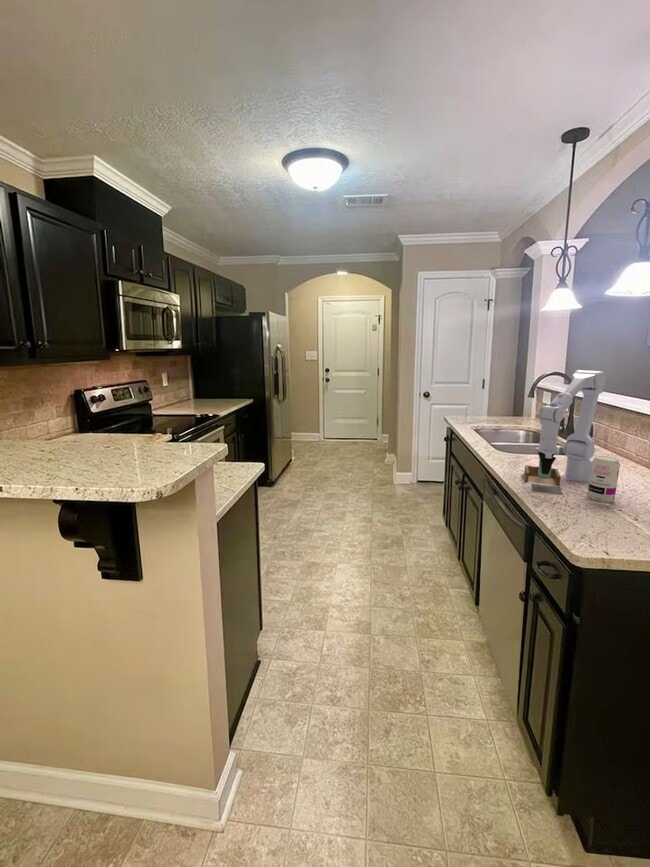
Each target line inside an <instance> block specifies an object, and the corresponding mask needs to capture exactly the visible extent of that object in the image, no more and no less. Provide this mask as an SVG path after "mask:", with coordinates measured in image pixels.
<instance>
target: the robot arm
mask: <svg viewBox="0 0 650 867" xmlns="http://www.w3.org/2000/svg"><path fill="white" fill-rule="evenodd" d="M606 377H607V376H606V374H605V373H604V371H602V370H599V371H598V370H582V369H577V370H575V372H573V374H572V376H571V382H570V384H569V385H568V386H567V388H566V389H565V390H564V392H559V393H558V394H557V395H556V396H555V397H554V398H553V400H552V401H550V403H549V404H548V405H547V404H546V405H544V406H542V407H541V408H540V411H539V414H538V416H539V419H540V421H539V423H540V425H541V428H540V435H539V436H540V437H539V446H538V447H535V448H534V449H535V451H538V452H537V454H538V458H539V459H540V460H541V470H542V474H549V471H550V468H551V466H553V464H554V462H555V461H556V460H557V458H556V456H555V453H556V452H557V444H558V435H559V426H560V423H561V421H563V419H564V417H565V413H566V411H567V409H568V408H570V406H571V405H572V404H573V400H574V399H573V398H574V397H576V396H577V394H578V393H579V392H581V393H582V394H583V397H582V400H581V405H580V409H579V412H578V417H577V422H576V426H575V429H574V433H571V434H570V435H569V436H567V437H566V441H565V443H564V444H563V447H562V448H563V449H562V451H563V452H564V454H565V457H566V458H567V459H566V463H565V464H566V466H565V473H563V474H562V476H563V478H564V480H566V481H575V482H583V483H589V479H590V472H591V465H592V461H593V459H592V457H593V456H594V455H595V452H596V450H595V444H596V441H595V440H594V438H592V437H591V435H590V432H591V429H592V425H593V420H594V416H595V412H596V408H597V403H598V400H599V396H600V394H603V392H604V387H605V384H606V381H607V378H606Z"/></svg>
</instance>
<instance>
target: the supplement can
mask: <svg viewBox="0 0 650 867" xmlns="http://www.w3.org/2000/svg"><path fill="white" fill-rule="evenodd" d="M592 460H593V461H592V465H591V472H590V479H589V482H588V485H587V486H588V487H587V498H589V499H591V500H594V501H597V502H603V503H612V502H614V501H615V499H616V498H615V497H616V493H617V488H618V487H617V486H618V481H619V474H620V468H621V467H620V466H621V464H620V461H619V459H618V458H616V457H612V456H605V455H597V456H594V458H593V459H592Z"/></svg>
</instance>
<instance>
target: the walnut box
mask: <svg viewBox="0 0 650 867" xmlns="http://www.w3.org/2000/svg"><path fill="white" fill-rule="evenodd" d="M538 468H539V466H537V465H536V466H534V465H524V481H525V482H526V483H532V484H541V485H549V486H557V487H560V482H561V474H560V472H559V469H558V468H554V467H552V468H551V476H550V478H549V477H540V476H538Z"/></svg>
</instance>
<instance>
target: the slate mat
mask: <svg viewBox="0 0 650 867" xmlns="http://www.w3.org/2000/svg"><path fill="white" fill-rule="evenodd" d="M531 489H532V490H531V491H532V492H534V493H536V492H537V493H543V494H552V495H559V496H564V494H563V492H562V489H561V486H557V485H549V484H540V483H531Z"/></svg>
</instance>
